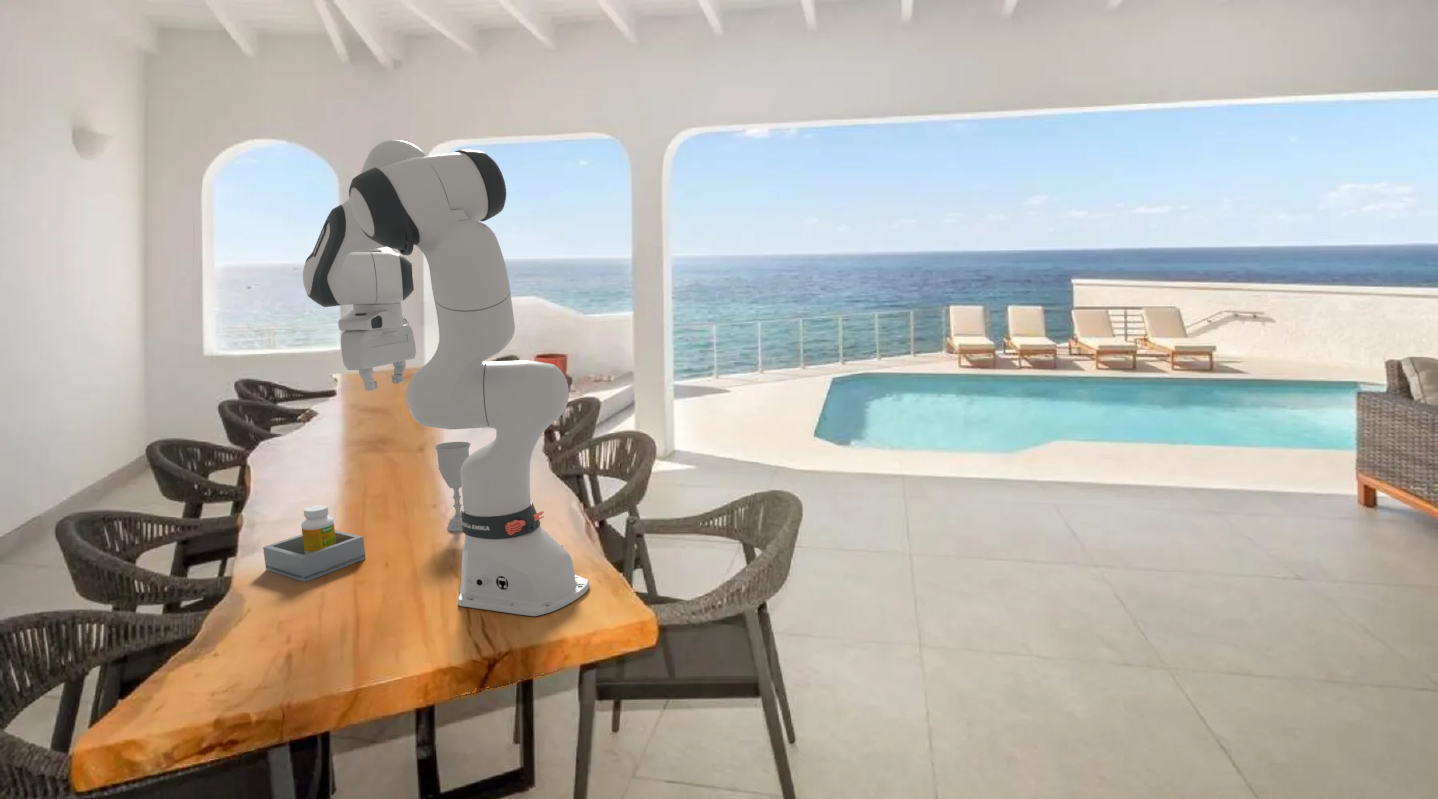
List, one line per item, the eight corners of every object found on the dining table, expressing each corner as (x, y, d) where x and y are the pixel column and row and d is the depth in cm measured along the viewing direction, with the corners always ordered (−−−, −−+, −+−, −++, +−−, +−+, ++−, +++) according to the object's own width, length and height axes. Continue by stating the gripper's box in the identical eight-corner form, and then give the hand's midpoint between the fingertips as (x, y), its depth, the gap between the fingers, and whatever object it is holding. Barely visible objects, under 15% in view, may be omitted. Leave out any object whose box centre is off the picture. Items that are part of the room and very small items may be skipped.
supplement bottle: (327, 562, 139) (321, 512, 137) (299, 562, 139) (293, 512, 138) (343, 551, 144) (337, 503, 143) (316, 551, 145) (310, 503, 143)
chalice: (436, 532, 157) (428, 449, 154) (448, 522, 164) (441, 441, 161) (470, 532, 157) (463, 449, 154) (481, 521, 163) (475, 441, 160)
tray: (365, 559, 143) (363, 536, 142) (305, 582, 133) (302, 557, 132) (326, 548, 149) (324, 527, 148) (266, 570, 139) (263, 547, 138)
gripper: (393, 315, 161) (399, 379, 163) (332, 322, 141) (339, 394, 143) (420, 315, 160) (426, 379, 162) (362, 321, 140) (370, 394, 142)
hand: (385, 386), depth 152 cm, fingers open, 8 cm apart
